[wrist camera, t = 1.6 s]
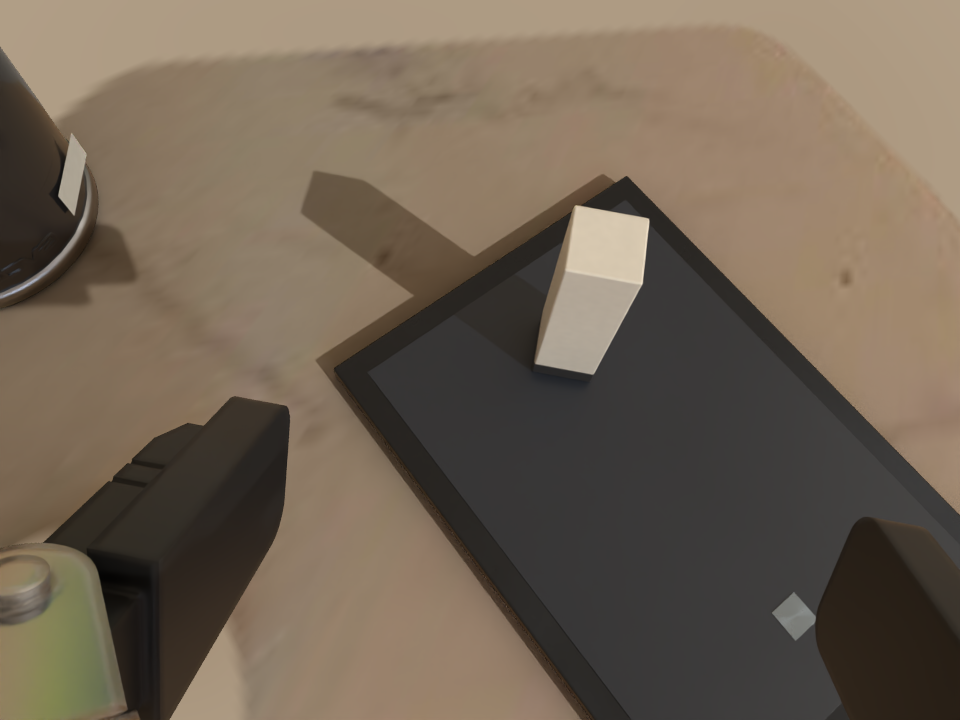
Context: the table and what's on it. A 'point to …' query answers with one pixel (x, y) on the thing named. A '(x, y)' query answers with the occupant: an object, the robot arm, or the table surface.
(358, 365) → the tablet
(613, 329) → the tall cream square pillar
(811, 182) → the table surface
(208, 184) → the table surface
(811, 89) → the table surface
